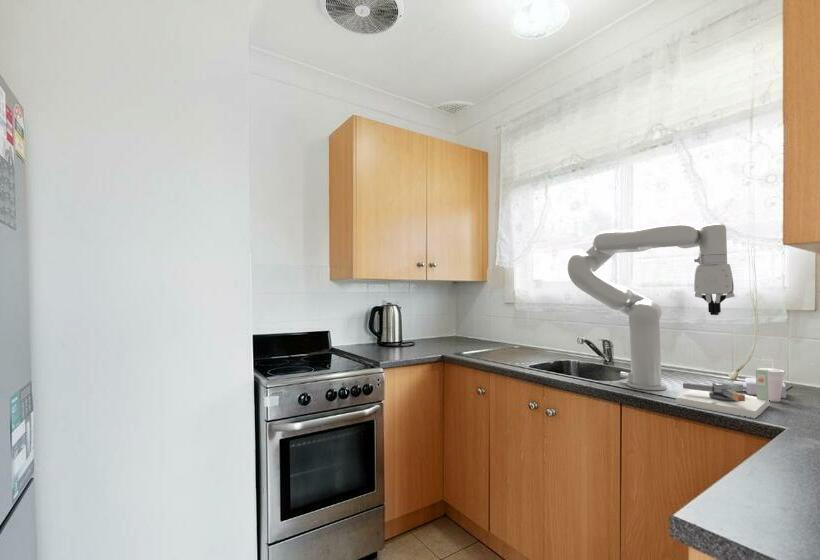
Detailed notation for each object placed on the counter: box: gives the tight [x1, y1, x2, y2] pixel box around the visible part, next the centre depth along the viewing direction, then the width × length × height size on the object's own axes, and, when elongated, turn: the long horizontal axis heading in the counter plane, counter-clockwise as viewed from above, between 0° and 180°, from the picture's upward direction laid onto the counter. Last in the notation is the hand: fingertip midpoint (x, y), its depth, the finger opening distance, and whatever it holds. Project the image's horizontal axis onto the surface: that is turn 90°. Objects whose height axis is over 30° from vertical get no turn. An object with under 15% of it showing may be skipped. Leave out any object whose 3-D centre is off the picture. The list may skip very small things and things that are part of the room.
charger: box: [725, 377, 787, 400], centre depth 135 cm, size 5×9×15 cm
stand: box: [675, 367, 770, 419], centre depth 122 cm, size 19×19×11 cm
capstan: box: [682, 381, 746, 401], centre depth 119 cm, size 17×15×4 cm
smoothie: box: [759, 355, 786, 403], centre depth 126 cm, size 6×6×14 cm
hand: (714, 314), depth 133 cm, fingers closed
